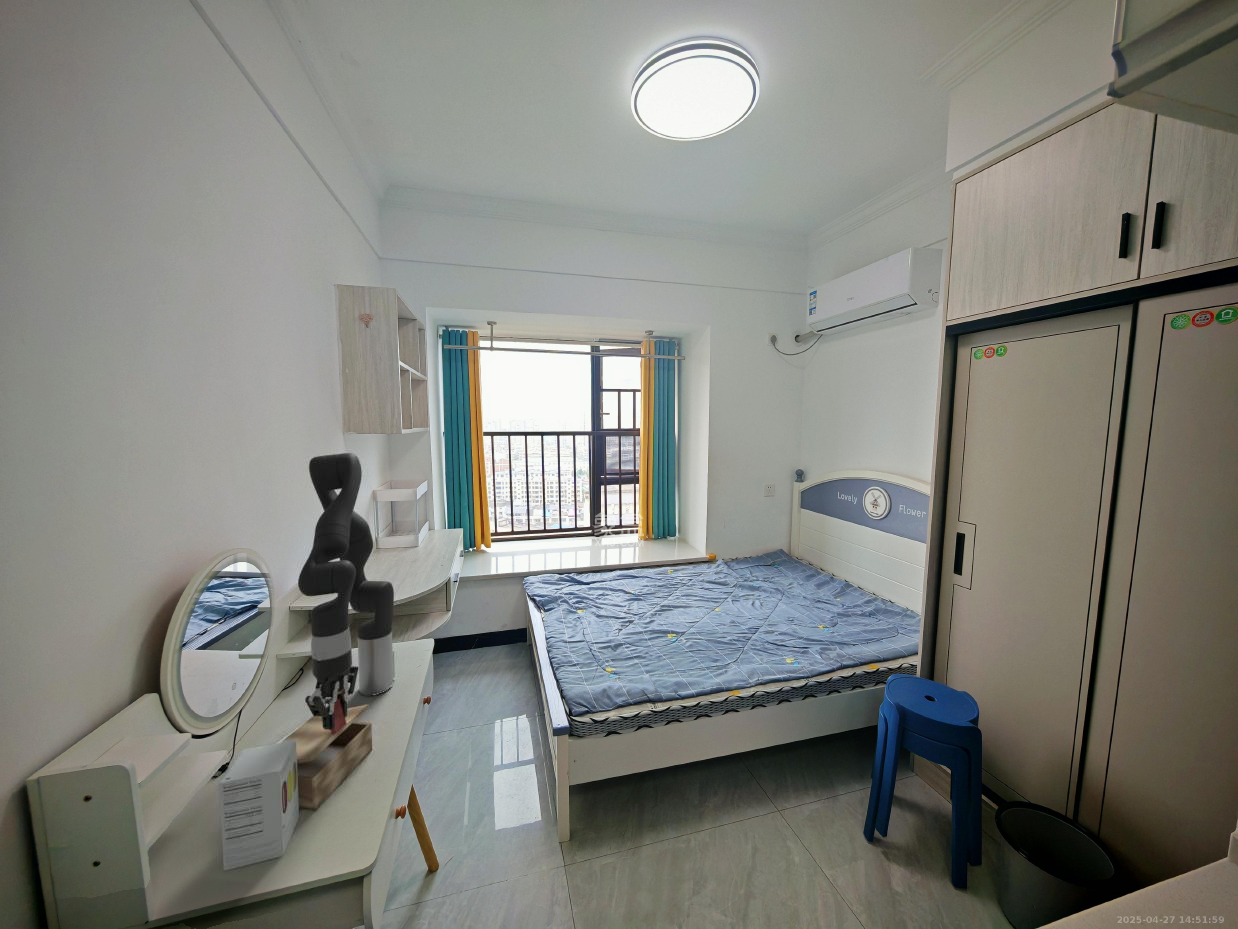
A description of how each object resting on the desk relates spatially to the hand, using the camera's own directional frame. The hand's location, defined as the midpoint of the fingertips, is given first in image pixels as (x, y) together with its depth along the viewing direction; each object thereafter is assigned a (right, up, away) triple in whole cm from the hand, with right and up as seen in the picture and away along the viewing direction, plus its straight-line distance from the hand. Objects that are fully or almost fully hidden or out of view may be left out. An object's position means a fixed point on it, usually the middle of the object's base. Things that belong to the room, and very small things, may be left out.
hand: (335, 722), depth 102 cm
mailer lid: (-6, -4, +1) cm, 7 cm away
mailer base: (-5, -13, +2) cm, 14 cm away
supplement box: (-4, -14, -15) cm, 21 cm away
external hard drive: (-16, -12, +15) cm, 26 cm away
